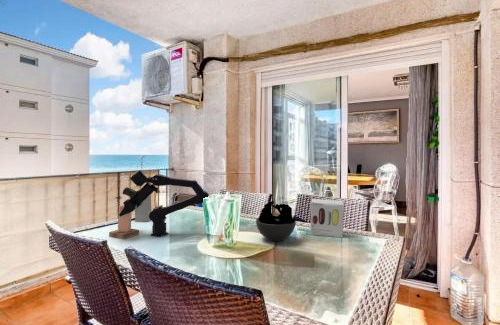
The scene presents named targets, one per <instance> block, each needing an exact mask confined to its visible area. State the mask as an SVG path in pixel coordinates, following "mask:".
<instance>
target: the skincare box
mask: <svg viewBox="0 0 500 325" xmlns="http://www.w3.org/2000/svg"><path fill="white" fill-rule="evenodd" d="M151 211H152V195H150V196H149V197H148V198H147V199H146V200H145V201H143V204H142V205H141V206H139V207H138V208H136V209H135V210H134V221H135V223H136V222H138V223H139V222H142V223H143V222H147V223H148V222H149V221H151V220H150V218H149V214H150V212H151Z"/></svg>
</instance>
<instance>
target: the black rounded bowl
mask: <svg viewBox="0 0 500 325" xmlns="http://www.w3.org/2000/svg"><path fill="white" fill-rule="evenodd" d="M274 203H275V201H274V200H272V201H271V200H270V201H269V202H267V203H265V204H264V205H263V208H262V209H261V211H260V214H259V216H258V218H256V220H255V223H256V228H257V230H258V231H259V233H260V234H261V236H262V237H264V238H265V239H268V240H270V241H273V242H280V241H284V240H285V239H288V237H290V235H292V234H293V232H294V230H295V228H296V223H297V222H296V219H295V218H294V217H293V208H292V207H291V206H290V205H289V204H286V203H280V204H278V203H275V204H274ZM272 207H273V208H274V209H275V210H277V211H278V213H279V214H278V215H273V213H272V209H273V208H272Z"/></svg>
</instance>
